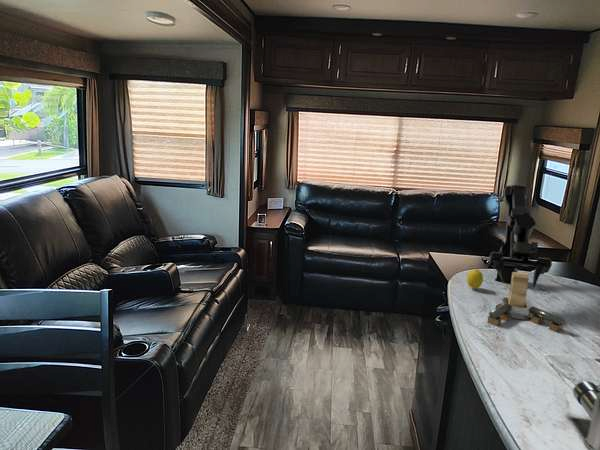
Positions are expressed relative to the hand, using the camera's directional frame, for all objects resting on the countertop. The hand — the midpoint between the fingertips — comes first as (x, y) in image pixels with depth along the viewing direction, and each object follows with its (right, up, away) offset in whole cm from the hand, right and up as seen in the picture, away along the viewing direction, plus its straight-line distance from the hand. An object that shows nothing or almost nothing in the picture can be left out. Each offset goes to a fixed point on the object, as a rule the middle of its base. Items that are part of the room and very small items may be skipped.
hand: (518, 284), depth 148 cm
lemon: (-6, -5, +22) cm, 23 cm away
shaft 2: (+5, -12, -7) cm, 15 cm away
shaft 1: (-9, -11, -5) cm, 15 cm away
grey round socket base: (-1, -10, +2) cm, 10 cm away
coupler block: (-1, -9, +1) cm, 9 cm away
